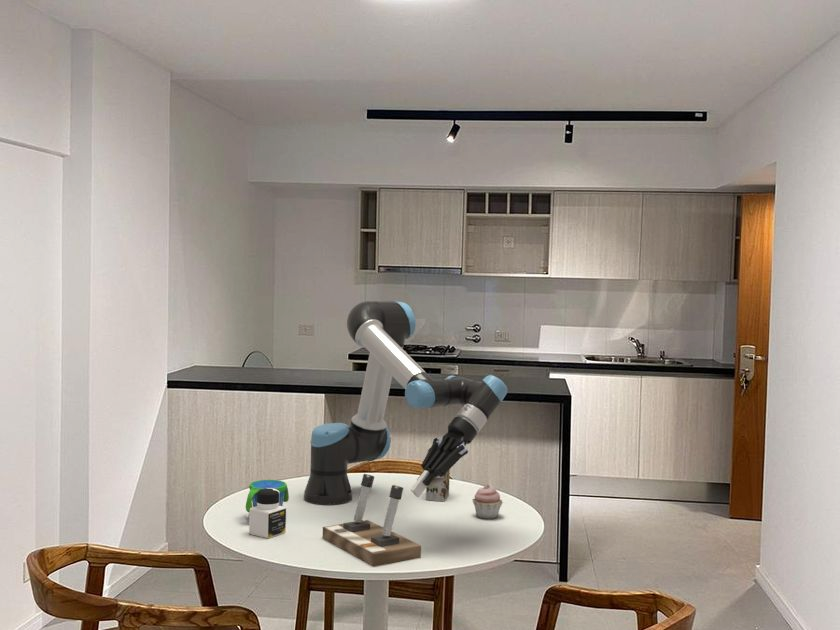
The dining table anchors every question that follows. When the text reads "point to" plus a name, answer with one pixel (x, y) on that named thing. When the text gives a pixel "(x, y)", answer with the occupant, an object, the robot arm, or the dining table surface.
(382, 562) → the switch unit
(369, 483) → the lever
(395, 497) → the lever
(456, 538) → the dining table surface
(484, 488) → the cupcake
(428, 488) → the coffee box
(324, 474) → the robot arm
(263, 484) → the snack cup
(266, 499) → the medicine bottle
